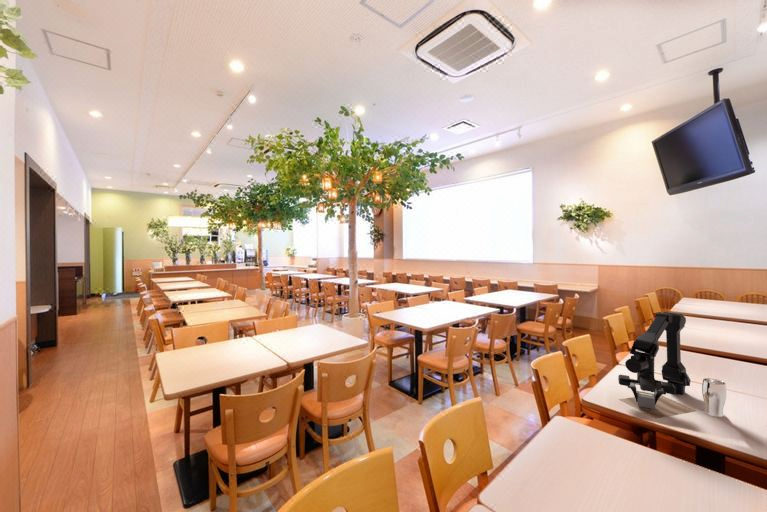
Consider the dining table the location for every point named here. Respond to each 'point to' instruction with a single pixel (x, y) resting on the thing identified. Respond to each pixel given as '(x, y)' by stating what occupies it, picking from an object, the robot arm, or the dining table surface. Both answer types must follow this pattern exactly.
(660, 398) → the board
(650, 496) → the dining table surface
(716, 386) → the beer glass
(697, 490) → the dining table surface
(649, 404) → the grey block
